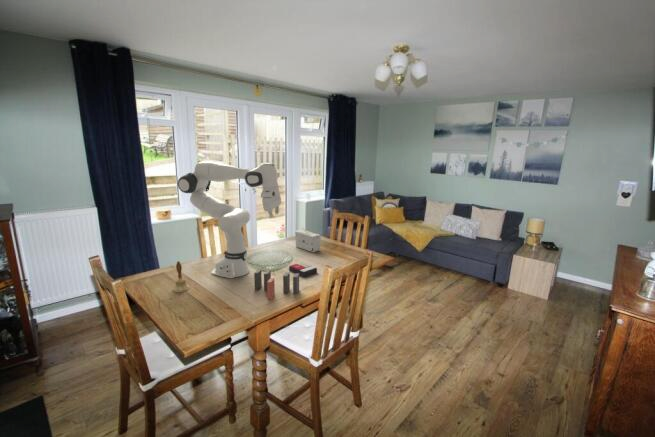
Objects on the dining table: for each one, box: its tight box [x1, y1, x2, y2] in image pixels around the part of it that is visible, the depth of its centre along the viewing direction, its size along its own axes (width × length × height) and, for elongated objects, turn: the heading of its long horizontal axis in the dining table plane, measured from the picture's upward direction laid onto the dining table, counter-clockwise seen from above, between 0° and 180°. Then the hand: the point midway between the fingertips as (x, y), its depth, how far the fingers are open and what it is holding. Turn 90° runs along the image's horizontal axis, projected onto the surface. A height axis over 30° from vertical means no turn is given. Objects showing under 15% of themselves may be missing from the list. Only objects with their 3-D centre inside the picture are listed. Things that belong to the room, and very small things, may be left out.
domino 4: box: [282, 271, 291, 294], centre depth 168 cm, size 2×5×10 cm, turn 169°
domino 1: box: [253, 269, 263, 291], centre depth 171 cm, size 2×5×10 cm, turn 169°
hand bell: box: [172, 260, 191, 293], centre depth 167 cm, size 8×8×16 cm
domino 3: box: [266, 277, 276, 301], centre depth 160 cm, size 2×5×10 cm, turn 169°
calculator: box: [288, 261, 318, 278], centre depth 195 cm, size 11×4×15 cm
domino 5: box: [292, 273, 300, 295], centre depth 167 cm, size 2×5×10 cm, turn 169°
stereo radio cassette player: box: [294, 229, 322, 253], centre depth 236 cm, size 21×8×20 cm, turn 49°
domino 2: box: [263, 269, 272, 292], centre depth 170 cm, size 2×5×10 cm, turn 169°
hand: (274, 215), depth 177 cm, fingers open, 8 cm apart
